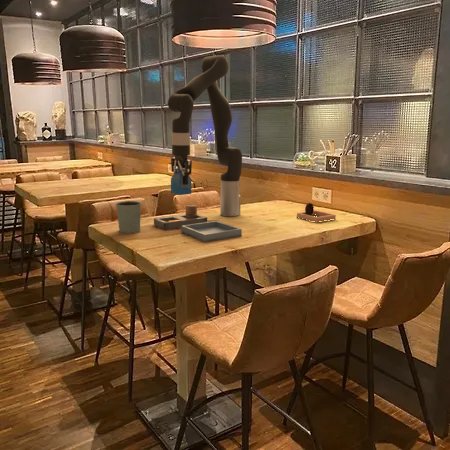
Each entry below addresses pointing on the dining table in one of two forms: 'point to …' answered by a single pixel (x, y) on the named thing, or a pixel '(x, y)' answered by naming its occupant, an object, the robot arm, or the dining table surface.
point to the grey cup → (129, 216)
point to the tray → (211, 231)
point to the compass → (310, 210)
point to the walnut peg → (191, 211)
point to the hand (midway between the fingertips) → (181, 183)
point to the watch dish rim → (323, 217)
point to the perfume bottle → (180, 184)
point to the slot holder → (177, 221)
